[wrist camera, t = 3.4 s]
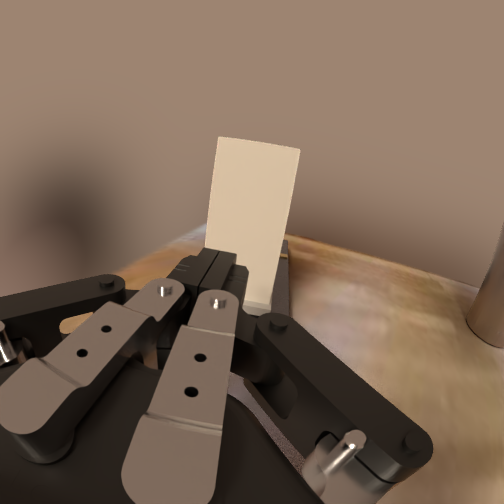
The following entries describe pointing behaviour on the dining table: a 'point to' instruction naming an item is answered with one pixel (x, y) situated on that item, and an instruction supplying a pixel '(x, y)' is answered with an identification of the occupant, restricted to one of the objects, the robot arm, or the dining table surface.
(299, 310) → the dining table surface
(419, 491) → the dining table surface
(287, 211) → the slider tab
